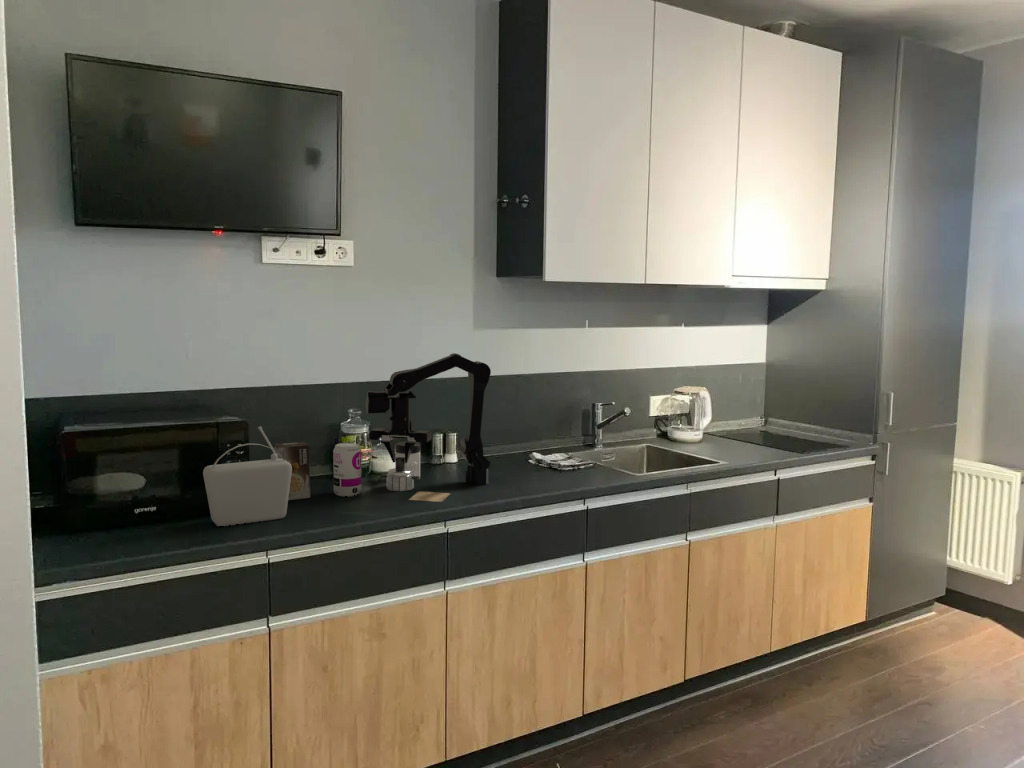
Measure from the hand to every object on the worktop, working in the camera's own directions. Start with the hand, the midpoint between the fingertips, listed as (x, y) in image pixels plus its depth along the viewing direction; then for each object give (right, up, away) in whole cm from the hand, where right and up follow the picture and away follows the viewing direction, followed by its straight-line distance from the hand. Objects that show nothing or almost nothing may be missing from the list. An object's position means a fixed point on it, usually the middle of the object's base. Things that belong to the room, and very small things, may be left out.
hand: (400, 462), depth 244 cm
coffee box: (-31, -10, -10) cm, 33 cm away
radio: (-36, -12, -33) cm, 50 cm away
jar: (0, -7, +15) cm, 17 cm away
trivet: (+10, -10, -9) cm, 17 cm away
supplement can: (-15, -9, -4) cm, 18 cm away
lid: (0, -4, 0) cm, 4 cm away
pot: (0, -9, +1) cm, 9 cm away
